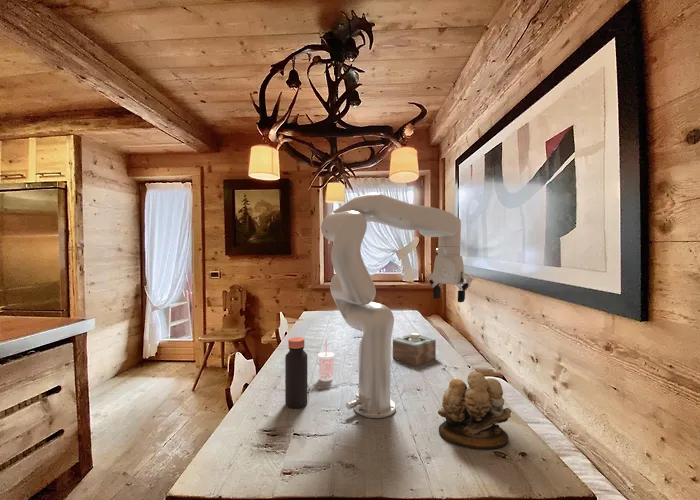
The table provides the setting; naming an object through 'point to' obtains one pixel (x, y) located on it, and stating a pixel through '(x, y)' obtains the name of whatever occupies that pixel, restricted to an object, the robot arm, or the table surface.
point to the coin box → (414, 350)
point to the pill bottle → (414, 337)
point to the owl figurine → (474, 413)
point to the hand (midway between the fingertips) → (448, 300)
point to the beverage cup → (326, 364)
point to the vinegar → (296, 374)
